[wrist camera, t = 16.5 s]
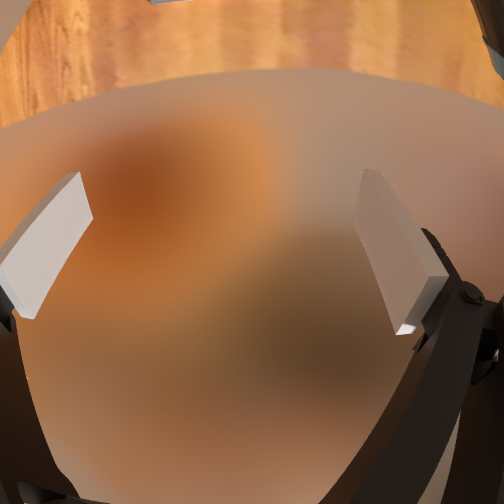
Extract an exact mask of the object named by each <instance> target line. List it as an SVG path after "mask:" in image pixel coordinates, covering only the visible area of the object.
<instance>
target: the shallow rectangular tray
mask: <svg viewBox="0 0 504 504" xmlns="http://www.w3.org/2000/svg"><path fill="white" fill-rule="evenodd" d="M182 1H191V0H151V4H153V5H161V4H167V3H174V2H182Z"/></svg>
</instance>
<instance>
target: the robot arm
mask: <svg viewBox="0 0 504 504" xmlns="http://www.w3.org/2000/svg"><path fill="white" fill-rule="evenodd" d="M471 2H472V5H473V8H474V10H475V13H476V16H477V19H478V22H479V24H480V28H481V31H482V34H483V35H482V38H483V41H484V43H485V45H486V46H487V48H488V51H489V55H490V58H491V61H492V65H493V67H494V69H495V71H496V72H497V73H498V74H499V75H500V76H501V78H502V79H503V80H504V0H471ZM92 220H93V217H92V214H91V210H90V207H89V204H88V201H87V197H86V194H85V190H84V187H83V183H82V179H81V176H80V172H73V173H67V174H66V175H65V176H64V177H63V178H62V179H61V180H60V181H59V182H58V183H57V184H56V185H55V186H54V187H53V188H52V189H51V190H50V191H49V192H48V193H47V194H46V195H45V196H44V197H43V199H42V200H41V201H40V202H39V203H38V204H37V205H36V206H35V207H34V208H33V209H32V211H31V212H30V213H29V214H28V215H27V216H26V217H25V219H24V220H23V221H22V222H21V223H20V224H19V226H18V227H17V228H16V229H15V231H14V232H13V233H12V234H11V236H10V237H9V238H8V240H6V242H5V243H4V245H3V246H2V247H1V248H0V504H24V503H27V504H109V503H103V502H97V501H91V500H86V499H81V498H80V497H79V495H78V493H77V491H76V489H75V488H74V486H73V485H72V483H71V482H70V481H69V479H68V478H67V477H65V475H64V474H63V473H62V472H61V471H60V470H59V469H58V467H57V466H56V464H55V461H54V459H53V457H52V454H51V452H50V449H49V447H48V444H47V442H46V439H45V437H44V434H43V431H42V428H41V426H40V423H39V420H38V417H37V414H36V410H35V407H34V404H33V401H32V397H31V394H30V390H29V386H28V383H27V378H26V375H25V370H24V366H23V361H22V356H21V351H20V346H19V341H18V334H17V328H16V321H15V318H14V316H13V314H12V313H11V312H12V310H13V308H14V307H15V308H16V310H17V311H18V313H19V314H20V315H21V317H25V318H30V319H34V318H35V316H36V314H37V312H38V310H39V308H40V306H41V304H42V302H43V300H44V299H45V297H46V294H47V293H48V291H49V289H50V287H51V286H52V284H53V282H54V280H55V278H56V277H57V275H58V273H59V271H60V270H61V268H62V266H63V265H64V263H65V261H66V260H67V258H68V257H69V255H70V253H71V251H72V250H73V248H74V247H75V245H76V244H77V242H78V240H79V239H80V238H81V236H82V234H83V233H84V231H85V230H86V228H87V227H88V225H89V224H90V223H91V221H92ZM352 221H353V223H354V225H355V227H356V230H357V232H358V234H359V237H360V239H361V241H362V244H363V246H364V249H365V251H366V254H367V256H368V259H369V261H370V264H371V266H372V269H373V272H374V274H375V277H376V279H377V282H378V285H379V287H380V290H381V293H382V296H383V298H384V301H385V304H386V307H387V310H388V313H389V316H390V319H391V321H392V325H393V328H394V331H395V334H396V335H399V334H410V333H415V331H416V330H417V328H418V326H419V325H420V323H421V322H422V324H423V327H424V330H425V332H424V333H423V335H422V336H421V338H420V339H419V340H418V342H417V343H416V345H415V346H414V347H413V350H415V352H414V354H413V356H412V358H411V360H410V362H409V365H408V367H407V369H406V371H405V373H404V375H403V377H402V379H401V381H400V383H399V384H398V387H397V388H396V390H395V392H394V394H393V396H392V398H391V400H390V401H389V403H388V405H387V407H386V408H385V410H384V412H383V414H382V415H381V417H380V419H379V420H378V422H377V424H376V425H375V427H374V428H373V430H372V432H371V433H370V435H369V436H368V438H367V440H366V441H365V443H364V444H363V446H362V447H361V449H360V450H359V452H358V453H357V455H356V456H355V457H354V459H353V460H352V462H351V463H350V464H349V466H348V467H347V468H346V470H345V471H344V473H343V474H342V475H341V477H340V478H339V479H338V481H337V482H336V483H335V484H334V486H333V487H332V488H331V490H330V491H329V492H328V493H327V494H326V496H325V497H324V498H323V499H322V500H321V501H320V502H319V503H318V504H417V503H418V501H419V499H420V498H421V496H422V494H423V492H424V491H425V489H426V487H427V485H428V483H429V481H430V479H431V477H432V476H433V474H434V472H435V470H436V468H437V465H438V463H439V461H440V459H441V457H442V455H443V452H444V450H445V448H446V446H447V443H448V441H449V439H450V436H451V434H452V431H453V428H454V426H455V424H456V421H457V418H458V415H459V413H460V410H461V413H460V420H459V428H458V433H457V439H456V444H455V449H454V454H453V459H452V464H451V468H450V472H449V476H448V480H447V483H446V487H445V490H444V495H443V497H442V500H441V504H504V296H503V297H502V298H501V300H500V301H499V303H496V302H492V301H488V300H485V298H484V296H483V294H482V292H481V291H480V290H479V289H478V288H477V287H476V286H475V285H473V284H471V283H469V282H467V281H462V280H461V278H460V276H459V274H458V273H457V271H456V269H455V268H454V266H453V264H452V263H451V261H450V259H449V258H448V256H446V253H445V251H444V250H443V249H442V248H441V245H440V243H439V242H438V240H437V239H436V237H435V236H434V235H432V234H431V233H430V232H429V231H428V230H427V229H424V228H420V227H419V226H418V224H417V223H416V221H415V219H414V218H413V217H412V215H411V214H410V212H409V211H408V209H407V208H406V206H405V205H404V204H403V202H402V201H401V200H400V198H399V197H398V195H397V194H396V192H395V191H394V190H393V188H392V187H391V186H390V184H389V183H388V182H387V180H386V179H385V178H384V176H383V175H382V174H381V173H380V171H377V170H368V169H364V170H363V175H362V179H361V184H360V189H359V193H358V198H357V202H356V207H355V211H354V216H353V220H352ZM497 354H498V361H497Z"/></svg>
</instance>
